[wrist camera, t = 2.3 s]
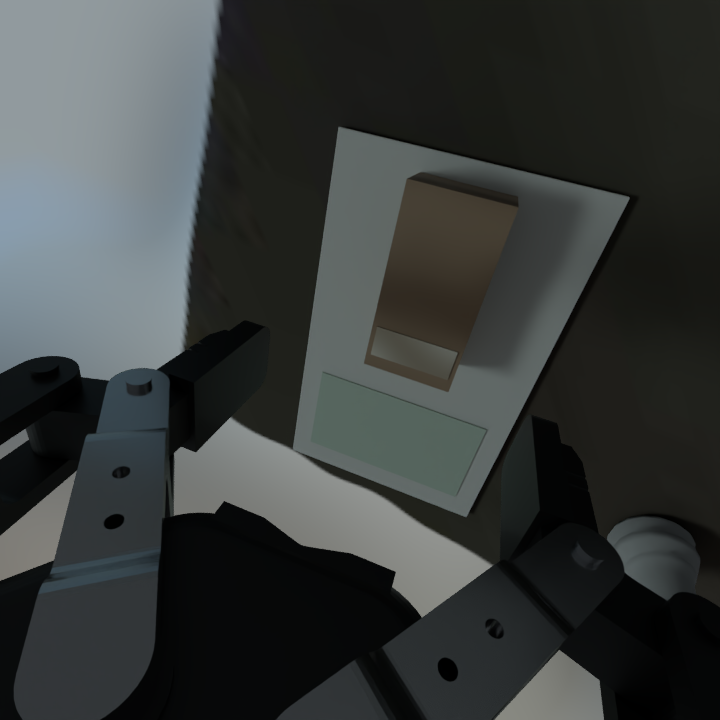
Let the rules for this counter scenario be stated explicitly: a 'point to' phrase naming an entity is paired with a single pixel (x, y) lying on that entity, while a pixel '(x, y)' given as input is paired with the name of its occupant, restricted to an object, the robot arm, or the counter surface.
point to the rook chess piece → (657, 554)
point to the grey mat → (486, 342)
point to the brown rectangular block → (437, 276)
